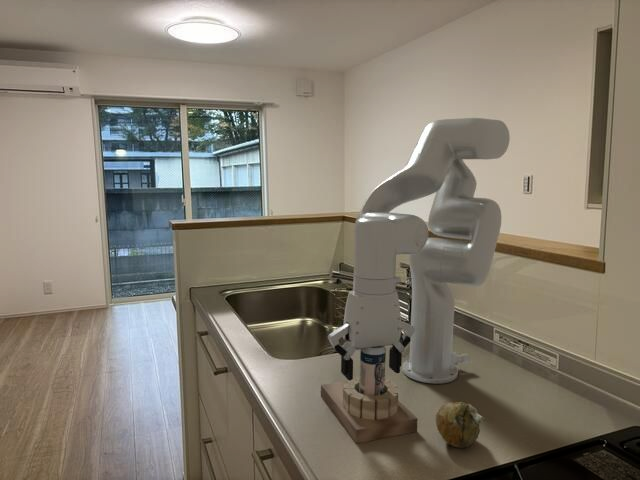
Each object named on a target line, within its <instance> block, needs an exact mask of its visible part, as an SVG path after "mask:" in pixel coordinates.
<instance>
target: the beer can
mask: <svg viewBox="0 0 640 480" xmlns="http://www.w3.org/2000/svg"><path fill="white" fill-rule="evenodd" d="M359 350H360V353H359V355H360V357H359V358H360V360H359V377H360V382H359V393H361V394H363V395H368V396H378V395H383V394H384V382H385V379H386V378H385V377H386V359H387V348H386V347H385V346H378V347H370V348H361V349H359Z"/></svg>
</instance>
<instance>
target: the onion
mask: <svg viewBox="0 0 640 480" xmlns="http://www.w3.org/2000/svg"><path fill="white" fill-rule="evenodd" d="M484 420H485V418H484V417H483V416H482V415H480V414H479V412H478V410H477V408H475V406H473V405H472V404H471V403H468V402H466V403H465V402H464V401H459V402H457V401H454V402H447V403H444V404H442V405H441V407H440V408H439V409H438V411H437V413H436V415H435V424H436V428H437V429H436V430H438V433H439V434H440V436H441V437H442V439H443V441H444V442H446V443H447V444H449V446H450V445H451V446H452V447H455V448H460V449H461V448H467V447H469V446H471V445H472V444H474V443H475V442H476V440H477V439H478V437H479V434H480V431H481V429H480V426H481V425H480V424H481V423H483V422H484Z"/></svg>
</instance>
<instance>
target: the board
mask: <svg viewBox="0 0 640 480" xmlns="http://www.w3.org/2000/svg"><path fill="white" fill-rule="evenodd" d="M359 382H360V376H355V377H353V379H352V380H350V381H349V380H348V379H347V380H345V381H339V382H332V383H330V382H329V383H325V384H321V385H320V397H321V398H322V400H323V401H324V402H325V404H326V406H328V408H329V409H330V411H331V412H332V413H333V415H334V416H335V418H336V419H337V420H338V421H339V422H340V424H341V426H342V427H343V428H344V429H345V430H346V432H347V433H348V434H349V436H350V438H352V440H353V442H354V443H355V444H360V443H365V442H366V443H367V442H371V441H375V440H380V439H386V438H390V437H395V436H401V435H406V434H411V433H415V432H417V431H418V421H419V420H418V417H417V416H416V415H415V414H413V413H412V412H411V411H410V410H409V409H408V407H406V406H405V405H404V404H403V403H402V402H401V401H400V400H399V387H398V385H397V384H395V382H393V381H391V380H389V379H386V378H385V382H384V394H383V395H378V396H368V395H363V394H361V393H359Z"/></svg>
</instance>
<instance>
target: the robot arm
mask: <svg viewBox="0 0 640 480" xmlns="http://www.w3.org/2000/svg"><path fill="white" fill-rule="evenodd" d="M510 137H511V136H510V130H509V128H508V125H507V124H506V123H505V122H504V121H502V120H500V119H490V118H482V117H465V118H449V119H448V118H447V119H437V120H435V121H431V122H430V123H429V124H427V125H426V126H425V127H424V129H423V131H422V133H420V136H419V139H418V140H417V143H415V146H414V149H413V150H412V152H411V153H410V154H411V155H410V156H409V158H408V160H407V161H406V162H407V163H406V164H405V166H404V167H403V169H401V170H399V171H398V172H396V173H395V174H392V175H391V176H390V177H388V178H387V179H386V180H384V181H383V182H382V183H380V184H379V185H378V186H377V187H375V188H374V189H373V190H371V192H370V193H369V194H368V196H367V197H366V199H365V200H364V202H363V205H362V207H361V209H360V210H359V213H358V214H357V217H356V218H355V222H354V223H355V224H354V227H353V228H354V229H353V233H354V234H353V235H354V243H353V244H354V246H353V249H354V250H353V281H352V282H353V284H352V287H353V289H352V290H349V291H348V295H347V297H346V298H347V299H346V303H345V308H344V317H343V325H341V326H339V328H337V329H335V330H334V331H332V332H331V333H329V334H328V335H327V339H328V341H329V343H330V344H331V346H332V348H333V350H334V351H335V352H337V354H339V356H341V357H340V358H341V359H340V360H341V361H340V367H341V368H340V372H341V374H342V375H343V376H344V377H345V378H346V379H347V381H348V380H349V381H350V380H352V379H353V378H354V360H353V359H352V356H353V355H354V354H355V352H356V351H357V350H358V349H359V350H360V349H361V348H370V347H378V346H392V347H389V355H388V357H389V359H388V361H389V362H388V367H389V368H390V370H391V371H393V372H394V373H395V374H400V373H401V372H403V374H404V375H405V376H407V377H408V378H410V379H412V380H413V381H417V382H419V383H420V382H421V383H424V384H425V383H427V384H434V385H435V384H438V385H439V384H447V383H450V382H453V381H455V380H456V379H457V378H458V376H459V375H458V373H459V371H458V368H457V367H456V366H457V365H458V364H462V363H469V361H470V356H469V354H468V353H462V354H458V352H457V351H453V337H454V335H453V334H454V321H455V305H456V304H455V303H456V301H455V298H454V293H453V292H452V290H451V288H450V286H449V284H454V285H459V286H460V285H461V286H466V287H480V286H482V285H483V284H484V283H485V282H486V280H487V278H488V276H489V273H490V270H491V266H492V262H493V259H494V254H495V251H496V249H497V245H498V244H497V243H498V239H499V236H500V232H501V226H502V209H501V207H500V206H499V205H500V204H498V203H497V202H496V201H495V200H493V199H490V198H485V197H474V196H475V192H476V190H477V189H476V188H477V180H476V178H475V175H474V173H473V172H472V170H471V169H470V167H468V165H466V163H465V160H495V159H496V160H497V159H500V158H501V157H503V156H504V155H505V154H506V152H507V151H508V148H509V145H510V139H511V138H510ZM433 194H435V195H434V198H433V201H432V205H431V208H430V211H429V213H428V214H429V215H428V219H427V220H428V221H427V223H428V224H427V223H426V221H425V220H424V219H422V218H421V217H420V216H417V215H414V214H408V213H399V212H398V213H397V212H391V211H393V210H394V209H396V208H397V207H399V206H401V205H404V204H407V203H410V202H413V201H416V200H419V199H423V198H425V197H428V196H431V195H433ZM429 230H430V232H431V233H432V234H434V235H435V236H439V237H429ZM440 237H443V238H440ZM449 238H451V239H449ZM456 239H458V240H456ZM466 240H467V241H466ZM468 240H469V241H468ZM397 255H408V257H409V258H408V262H409V269H410V277H411V309H410V310H411V314H410V324H409V323H407V322H405V321H403V320H402V317H401V306H400V299H399V298H400V297H399V294H398V291H396V289H397V287H396V286H397V285H400V284H401V283H402V278H401V277H400V276H397V275H396V269H397V268H396V267H397ZM402 330H404V331H403V334H402ZM341 338H343V340H344V341H345V342H344V343H343V345H341V343H340V342H339V340H340V339H341ZM408 345H409V359H407V360H405V361H403V363H402V358H403V353H404V352H405V351H406V348H407V346H408ZM401 366H402V367H401ZM401 368H402V371H401Z"/></svg>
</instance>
